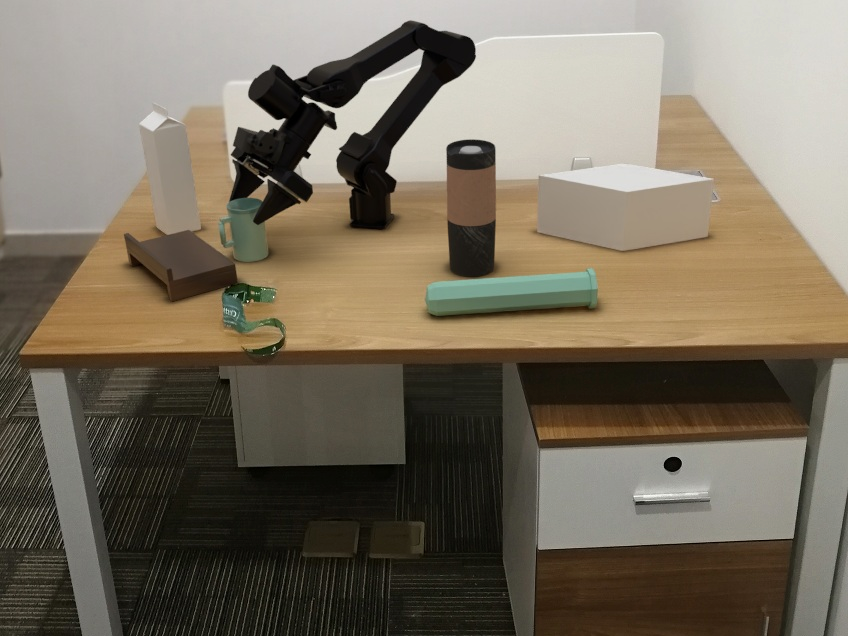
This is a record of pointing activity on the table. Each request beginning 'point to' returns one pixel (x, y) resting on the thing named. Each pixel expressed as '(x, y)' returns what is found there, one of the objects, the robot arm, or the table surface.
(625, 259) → the table surface
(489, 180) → the travel mug
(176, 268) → the shelf
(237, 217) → the green mug
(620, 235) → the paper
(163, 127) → the milk
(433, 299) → the container
